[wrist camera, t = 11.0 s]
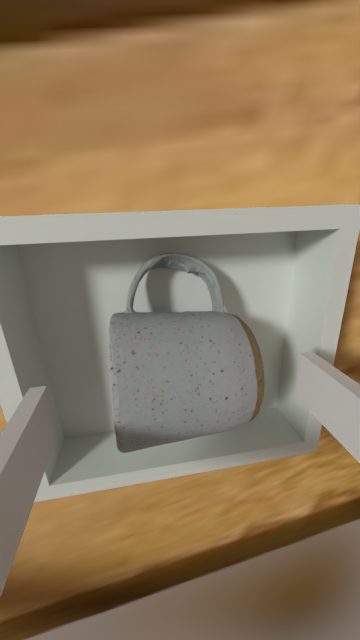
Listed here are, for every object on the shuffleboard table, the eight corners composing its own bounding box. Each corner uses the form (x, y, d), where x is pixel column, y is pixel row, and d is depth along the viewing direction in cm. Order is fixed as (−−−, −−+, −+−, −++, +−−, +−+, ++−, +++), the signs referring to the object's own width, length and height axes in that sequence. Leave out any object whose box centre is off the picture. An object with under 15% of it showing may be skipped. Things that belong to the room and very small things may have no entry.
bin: (55, 443, 22) (33, 502, 17) (-5, 220, 16) (-63, 218, 11) (282, 408, 25) (316, 451, 20) (306, 209, 19) (364, 204, 14)
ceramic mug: (223, 383, 21) (269, 462, 14) (121, 396, 20) (114, 488, 13) (228, 249, 18) (293, 262, 11) (104, 254, 16) (82, 272, 9)
